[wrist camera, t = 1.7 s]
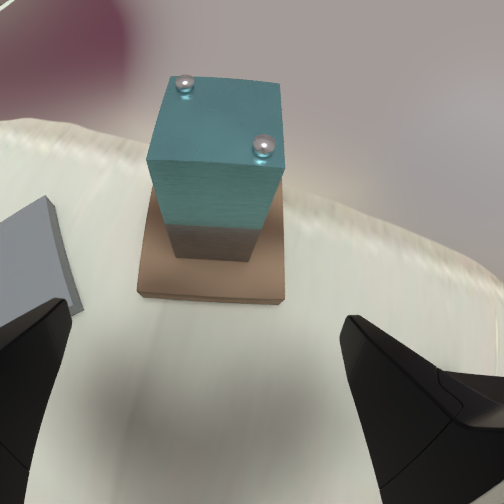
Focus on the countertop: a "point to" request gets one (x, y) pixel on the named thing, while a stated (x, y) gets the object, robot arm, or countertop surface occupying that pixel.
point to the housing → (216, 164)
